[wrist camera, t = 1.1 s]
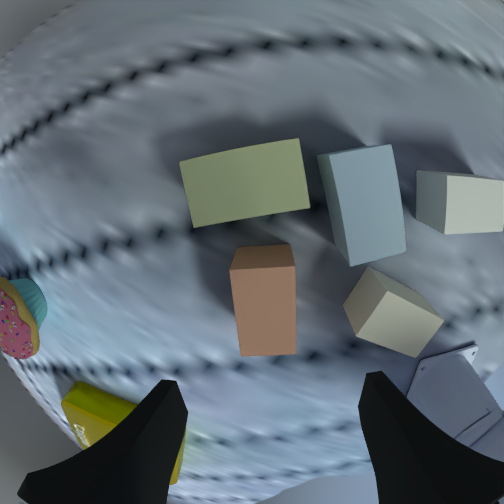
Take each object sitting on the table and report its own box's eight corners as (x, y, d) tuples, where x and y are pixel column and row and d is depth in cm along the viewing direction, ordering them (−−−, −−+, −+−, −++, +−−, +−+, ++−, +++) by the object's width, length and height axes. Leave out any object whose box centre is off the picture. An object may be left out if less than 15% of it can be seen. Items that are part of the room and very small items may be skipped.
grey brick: (473, 174, 15) (506, 181, 12) (471, 217, 17) (502, 231, 13) (415, 169, 16) (447, 175, 12) (414, 218, 17) (444, 234, 13)
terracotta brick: (292, 320, 20) (296, 353, 16) (245, 322, 21) (240, 356, 17) (289, 243, 18) (295, 266, 15) (237, 246, 19) (229, 270, 15)
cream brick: (421, 294, 19) (444, 320, 15) (397, 328, 20) (415, 358, 16) (367, 265, 18) (387, 290, 15) (342, 304, 20) (355, 336, 16)
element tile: (72, 373, 25) (54, 399, 21) (188, 417, 26) (178, 451, 21) (92, 432, 30) (81, 453, 26) (182, 465, 31) (175, 490, 26)
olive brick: (291, 142, 16) (298, 138, 12) (301, 196, 17) (310, 207, 13) (198, 160, 17) (179, 161, 13) (209, 212, 18) (193, 227, 14)
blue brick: (381, 232, 18) (406, 252, 14) (334, 244, 18) (350, 266, 14) (366, 145, 16) (391, 144, 12) (315, 155, 16) (328, 155, 13)
